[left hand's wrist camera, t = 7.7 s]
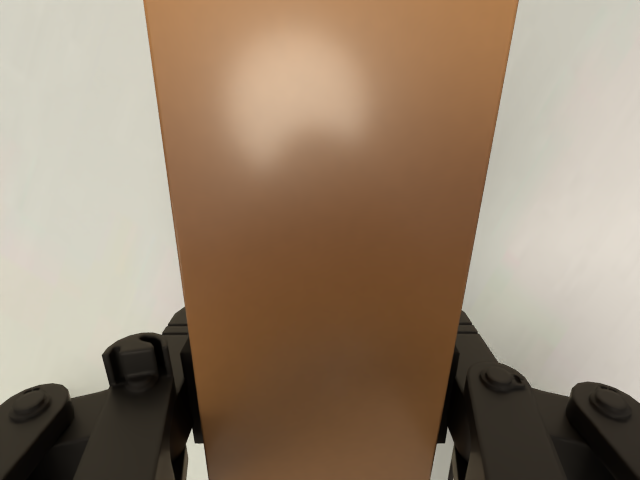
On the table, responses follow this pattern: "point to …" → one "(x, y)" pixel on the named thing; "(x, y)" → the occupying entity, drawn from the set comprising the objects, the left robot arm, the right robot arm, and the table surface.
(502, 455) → the left robot arm
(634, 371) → the table surface
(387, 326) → the beam
